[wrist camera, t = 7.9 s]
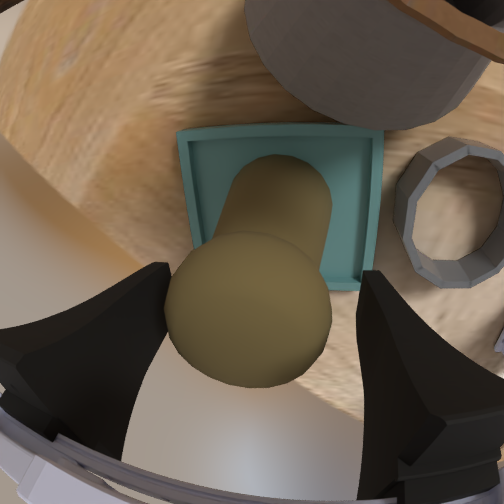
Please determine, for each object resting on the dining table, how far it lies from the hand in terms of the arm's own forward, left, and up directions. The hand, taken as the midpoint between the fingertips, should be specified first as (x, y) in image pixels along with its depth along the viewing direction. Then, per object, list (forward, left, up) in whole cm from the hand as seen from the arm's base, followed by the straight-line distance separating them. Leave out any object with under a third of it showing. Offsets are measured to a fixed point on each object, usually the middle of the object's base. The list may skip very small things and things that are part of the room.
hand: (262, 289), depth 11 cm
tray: (0, 0, -8) cm, 8 cm away
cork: (0, 0, -8) cm, 8 cm away
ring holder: (+1, -11, -8) cm, 14 cm away
